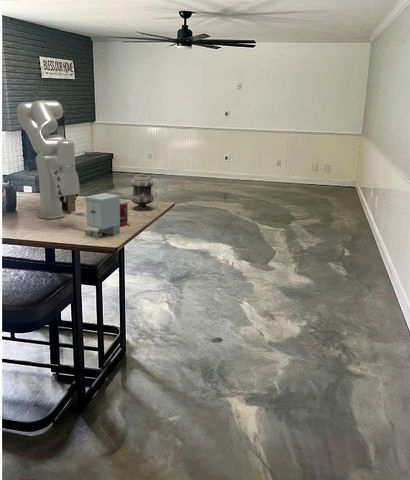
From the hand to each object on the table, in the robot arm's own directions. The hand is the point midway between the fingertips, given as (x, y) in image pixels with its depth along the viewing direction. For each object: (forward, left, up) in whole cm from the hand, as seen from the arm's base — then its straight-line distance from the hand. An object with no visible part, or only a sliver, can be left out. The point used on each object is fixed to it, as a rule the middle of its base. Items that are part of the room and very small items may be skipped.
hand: (68, 209), depth 220 cm
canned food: (+14, +18, -8) cm, 24 cm away
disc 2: (+21, -4, -8) cm, 23 cm away
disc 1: (+16, -4, -8) cm, 19 cm away
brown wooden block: (+6, 0, -2) cm, 6 cm away
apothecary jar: (+2, +50, -8) cm, 50 cm away
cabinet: (+20, +1, -8) cm, 22 cm away
